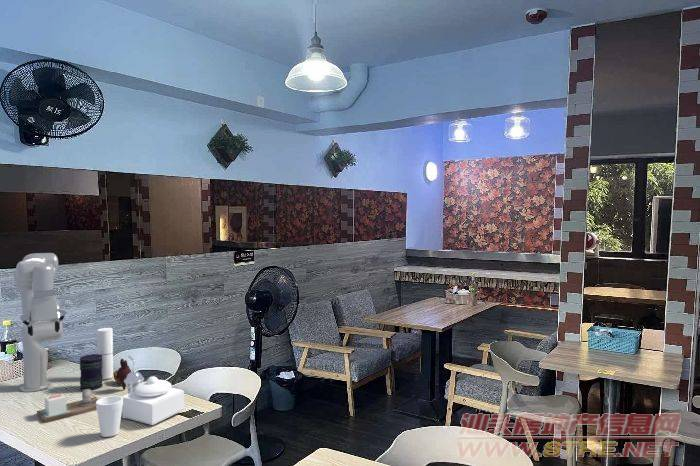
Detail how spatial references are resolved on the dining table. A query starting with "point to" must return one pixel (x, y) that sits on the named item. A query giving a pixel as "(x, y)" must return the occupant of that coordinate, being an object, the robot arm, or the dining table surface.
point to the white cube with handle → (55, 404)
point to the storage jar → (91, 372)
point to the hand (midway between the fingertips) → (44, 333)
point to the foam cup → (109, 414)
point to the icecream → (123, 372)
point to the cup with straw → (133, 379)
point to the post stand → (72, 408)
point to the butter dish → (152, 401)
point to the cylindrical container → (106, 351)
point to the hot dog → (116, 378)
